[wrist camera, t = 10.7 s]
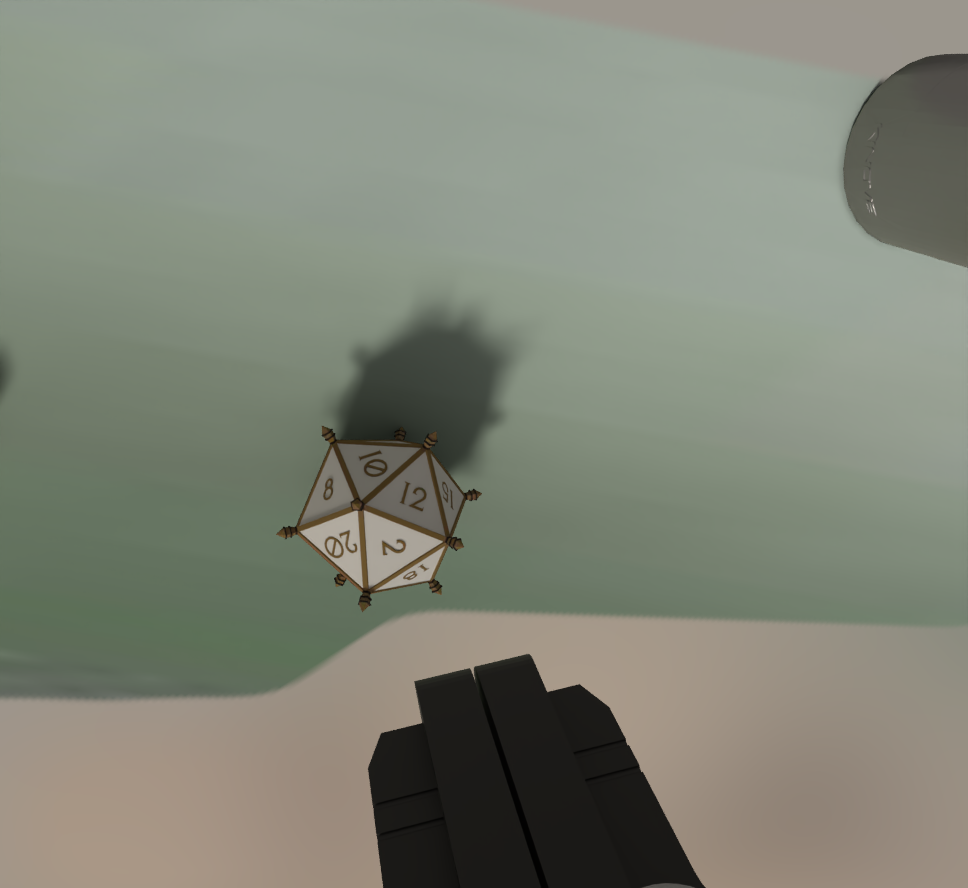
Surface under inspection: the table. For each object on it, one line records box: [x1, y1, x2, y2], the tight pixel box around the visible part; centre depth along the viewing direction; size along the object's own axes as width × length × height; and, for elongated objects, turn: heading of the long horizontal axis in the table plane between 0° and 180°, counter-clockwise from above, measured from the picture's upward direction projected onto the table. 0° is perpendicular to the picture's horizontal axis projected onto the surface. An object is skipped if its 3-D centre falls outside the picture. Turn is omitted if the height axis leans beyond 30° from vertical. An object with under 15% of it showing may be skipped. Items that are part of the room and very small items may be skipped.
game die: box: [276, 426, 482, 612], centre depth 41 cm, size 9×8×10 cm
